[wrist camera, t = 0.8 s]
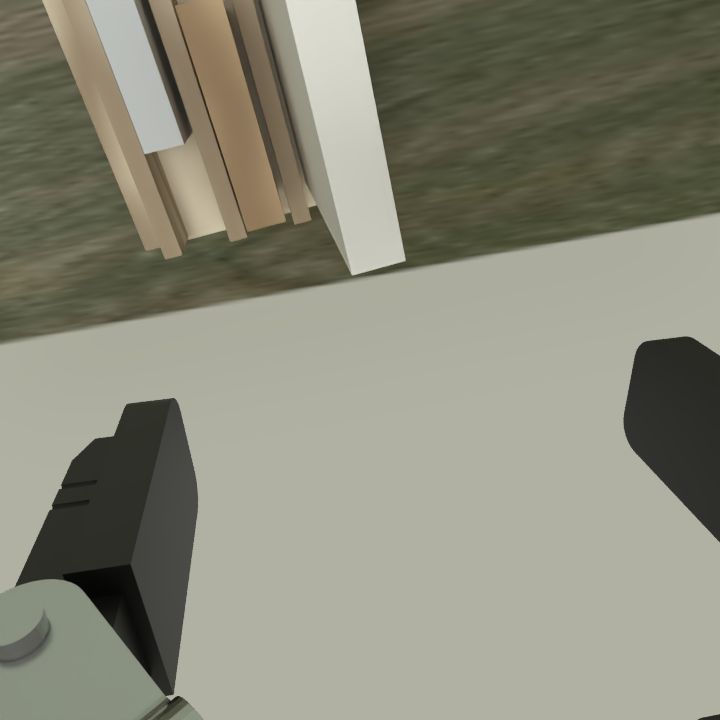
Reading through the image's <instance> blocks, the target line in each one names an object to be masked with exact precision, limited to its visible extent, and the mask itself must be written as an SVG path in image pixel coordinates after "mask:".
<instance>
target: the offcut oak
mask: <svg viewBox="0 0 720 720" xmlns="http://www.w3.org/2000/svg"><path fill="white" fill-rule="evenodd" d="M175 8H176V11H177V14H178V17H179V20H180V23H181V26H182V29H183V33H184V36H185V39H186V42H187V45H188V48H189V51H190V54H191V57H192V61H193V64H194V67H195V70H196V73H197V76H198V79H199V82H200V85H201V89H202V92H203V95H204V98H205V101H206V104H207V107H208V110H209V113H210V117H211V120H212V123H213V126H214V129H215V132H216V135H217V138H218V141H219V145H220V148H221V151H222V154H223V157H224V160H225V163H226V166H227V169H228V173H229V176H230V179H231V182H232V185H233V188H234V191H235V194H236V197H237V201H238V204H239V207H240V210H241V213H242V216H243V219H244V222H245V225H246V229H247V232H249V231H252V230H256V229H260V228H264V227H267V226H271V225H275V224H278V223H282V222H286V219H285V216H284V212H283V208H282V204H281V200H280V196H279V192H278V189H277V185H276V182H275V178H274V175H273V171H272V168H271V164H270V161H269V157H268V154H267V150H266V147H265V143H264V140H263V136H262V133H261V129H260V126H259V122H258V119H257V115H256V112H255V108H254V105H253V101H252V98H251V94H250V91H249V87H248V84H247V80H246V77H245V73H244V70H243V66H242V63H241V59H240V56H239V52H238V49H237V45H236V42H235V38H234V35H233V31H232V28H231V24H230V21H229V17H228V14H227V10H226V7H225V4H224V2H223V0H195V1H191V2H187V3H183V4H179V5H175Z"/></svg>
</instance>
